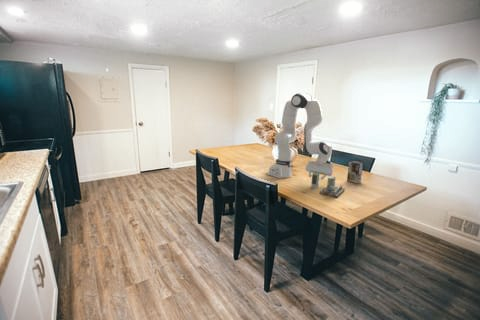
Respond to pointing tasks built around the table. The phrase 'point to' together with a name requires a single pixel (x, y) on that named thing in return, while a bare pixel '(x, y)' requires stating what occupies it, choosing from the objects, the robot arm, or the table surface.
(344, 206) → the table surface
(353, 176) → the coffee box
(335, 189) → the rail base
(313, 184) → the block
